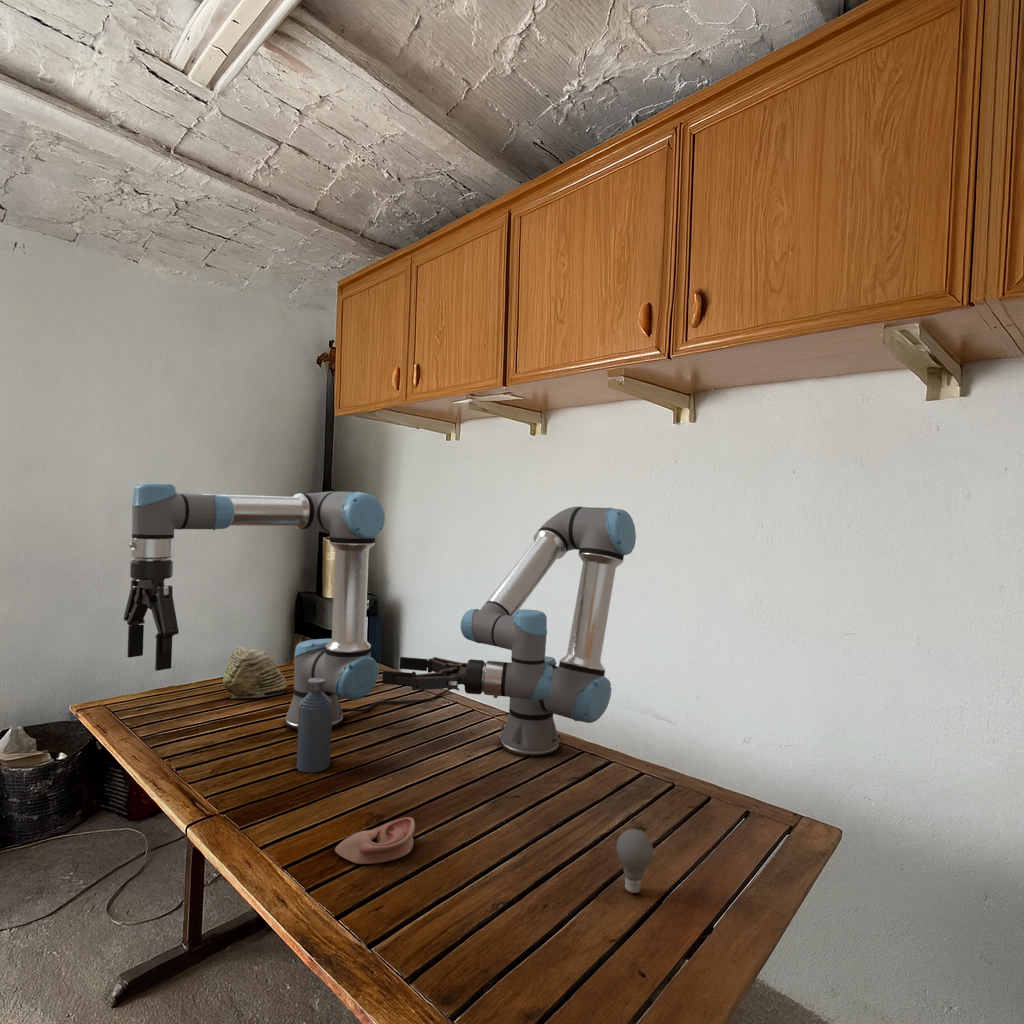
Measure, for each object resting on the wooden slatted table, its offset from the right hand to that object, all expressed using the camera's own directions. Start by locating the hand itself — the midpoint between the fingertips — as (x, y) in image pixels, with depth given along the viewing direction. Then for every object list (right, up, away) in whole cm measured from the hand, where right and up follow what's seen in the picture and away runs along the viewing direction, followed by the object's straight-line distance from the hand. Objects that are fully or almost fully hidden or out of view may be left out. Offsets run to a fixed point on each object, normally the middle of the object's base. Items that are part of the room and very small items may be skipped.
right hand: (391, 669), depth 144 cm
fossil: (-53, -21, +54) cm, 78 cm away
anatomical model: (+3, -25, -29) cm, 39 cm away
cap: (-18, -4, +4) cm, 19 cm away
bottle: (-19, -24, +4) cm, 31 cm away
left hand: (-47, +5, -15) cm, 49 cm away
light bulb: (+48, -27, -39) cm, 67 cm away
